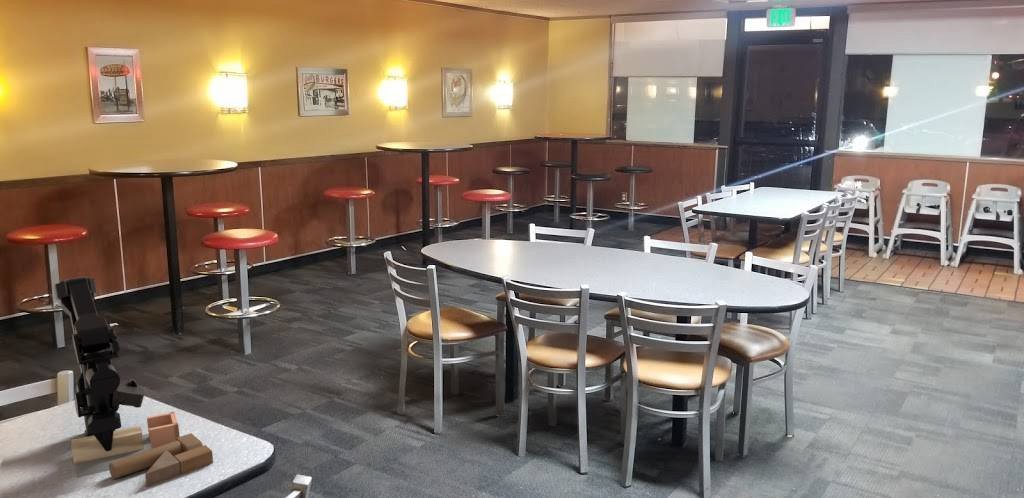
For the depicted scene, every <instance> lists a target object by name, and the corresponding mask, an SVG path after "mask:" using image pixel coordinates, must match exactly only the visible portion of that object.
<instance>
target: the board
mask: <svg viewBox="0 0 1024 498" xmlns="http://www.w3.org/2000/svg"><path fill="white" fill-rule="evenodd" d="M142 437H143V445H144V449H140V450H136V451H131V452H127V453H122V454H117V455H113V456H108V457H104V458H99V459H94V460H90V461H85V462H80V463H76V478H81V477H86V476H89V475H94V474H99V473H103V472H107V471H109V463H111V462H113V461H116V460H119V459H122V458H125V457H128V456H131V455H134V454H137V453H140V452H144V451H147V450H150V449H152V448H151V440H150V439H149V433H146V434H142Z"/></svg>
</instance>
